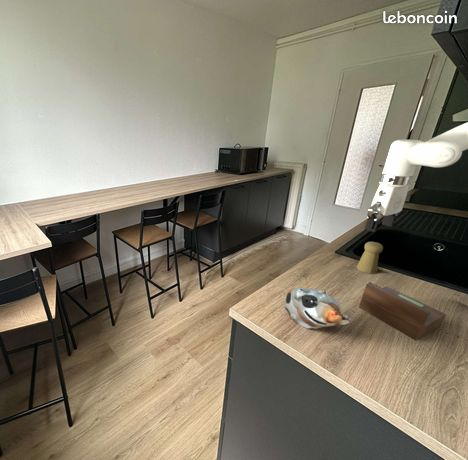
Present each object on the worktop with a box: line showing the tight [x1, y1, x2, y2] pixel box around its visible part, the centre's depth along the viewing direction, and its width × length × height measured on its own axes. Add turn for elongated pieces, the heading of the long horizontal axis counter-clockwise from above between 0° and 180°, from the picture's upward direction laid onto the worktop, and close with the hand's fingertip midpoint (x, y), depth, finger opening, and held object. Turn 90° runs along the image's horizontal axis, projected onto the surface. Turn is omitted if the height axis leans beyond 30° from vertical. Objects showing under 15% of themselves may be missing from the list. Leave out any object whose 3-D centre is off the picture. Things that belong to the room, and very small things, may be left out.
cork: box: [356, 241, 384, 275], centre depth 93 cm, size 6×6×11 cm
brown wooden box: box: [358, 281, 447, 341], centre depth 71 cm, size 12×14×9 cm
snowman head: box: [284, 287, 352, 330], centre depth 70 cm, size 15×12×14 cm
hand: (378, 227), depth 89 cm, fingers open, 9 cm apart
